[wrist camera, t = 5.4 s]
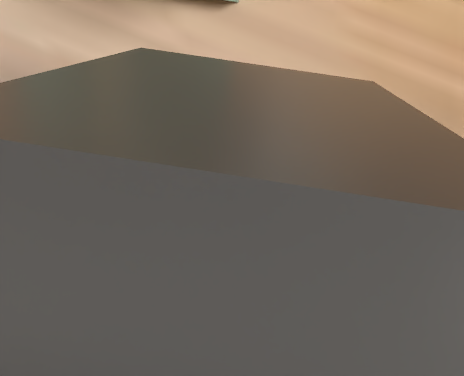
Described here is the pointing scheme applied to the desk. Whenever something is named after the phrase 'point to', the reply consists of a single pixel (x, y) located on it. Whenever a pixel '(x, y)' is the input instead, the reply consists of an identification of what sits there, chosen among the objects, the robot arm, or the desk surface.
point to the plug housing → (225, 224)
